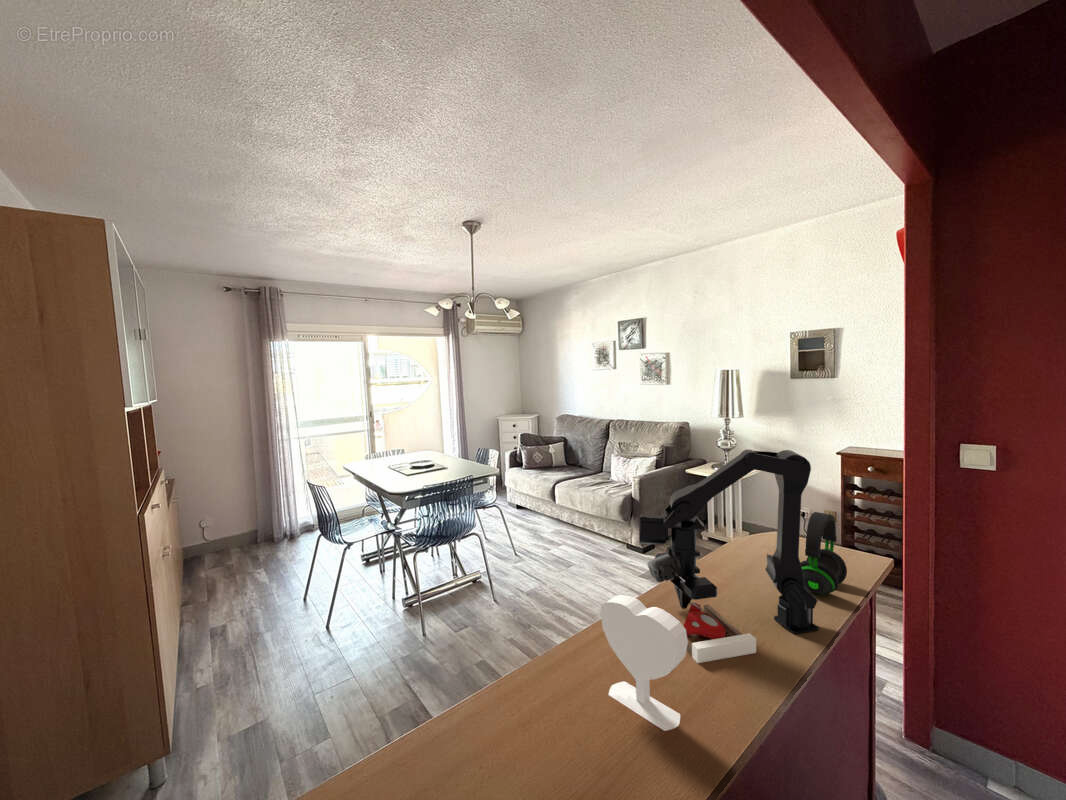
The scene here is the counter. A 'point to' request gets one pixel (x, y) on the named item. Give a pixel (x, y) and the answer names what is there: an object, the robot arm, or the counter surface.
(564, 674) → the counter surface
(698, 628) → the tracker holder
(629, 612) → the heart sculpture
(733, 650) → the guide channel
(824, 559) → the headphones
